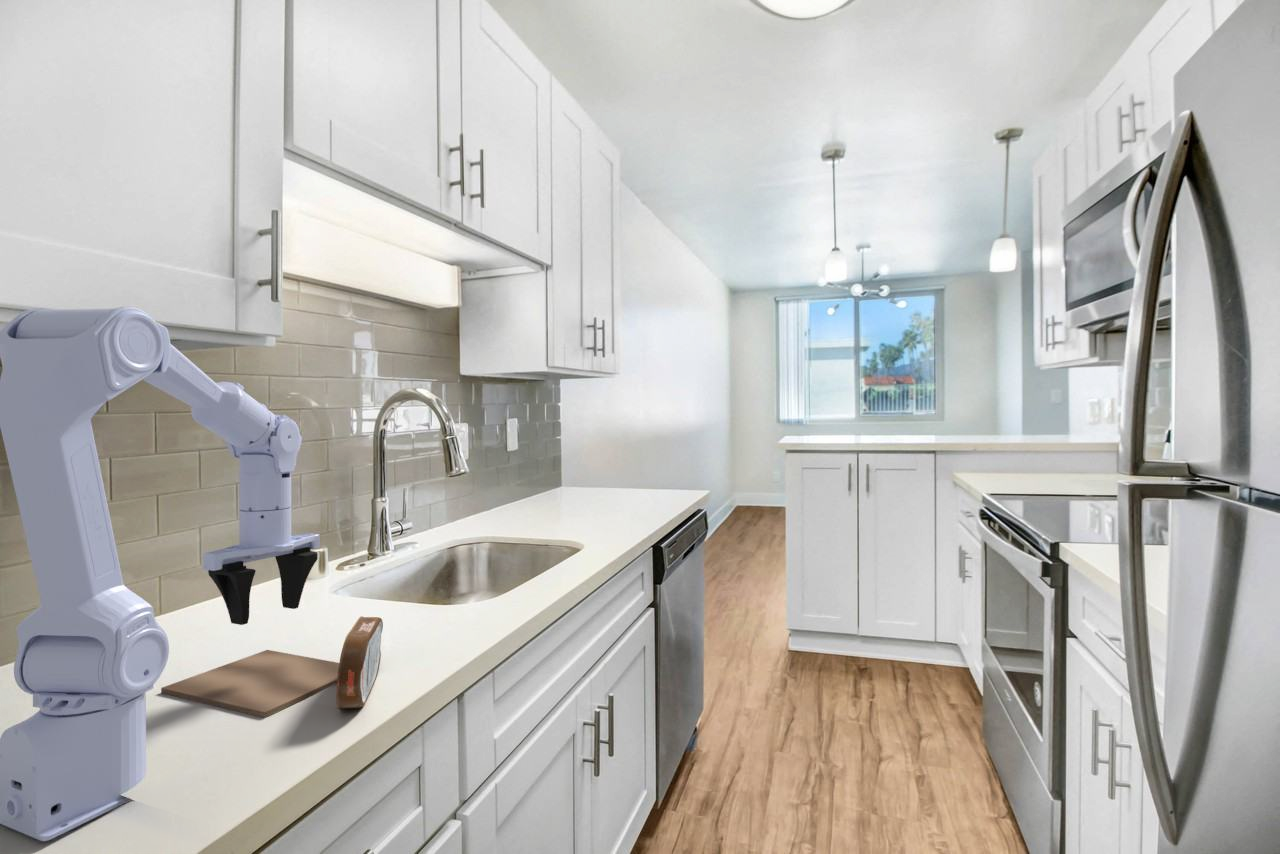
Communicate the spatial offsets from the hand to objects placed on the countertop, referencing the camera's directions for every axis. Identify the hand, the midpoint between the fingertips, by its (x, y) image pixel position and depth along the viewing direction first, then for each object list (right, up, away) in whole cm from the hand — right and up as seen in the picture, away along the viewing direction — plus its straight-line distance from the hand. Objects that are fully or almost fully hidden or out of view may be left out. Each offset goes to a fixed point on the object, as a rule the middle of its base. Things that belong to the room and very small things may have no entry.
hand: (266, 615), depth 79 cm
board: (0, -9, 0) cm, 8 cm away
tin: (+14, -9, -3) cm, 17 cm away
